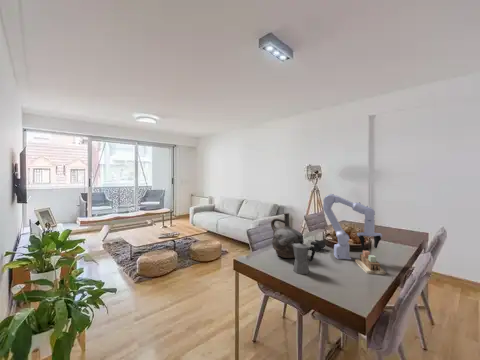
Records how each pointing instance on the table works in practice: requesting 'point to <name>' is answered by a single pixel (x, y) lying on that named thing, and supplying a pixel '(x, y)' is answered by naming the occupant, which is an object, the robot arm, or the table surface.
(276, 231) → the vessel
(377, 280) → the table surface
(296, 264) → the coffeepot
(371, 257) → the pale green cube
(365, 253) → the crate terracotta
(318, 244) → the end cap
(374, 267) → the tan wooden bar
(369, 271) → the dock
